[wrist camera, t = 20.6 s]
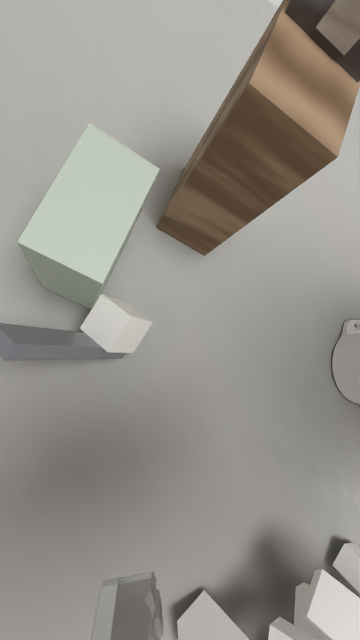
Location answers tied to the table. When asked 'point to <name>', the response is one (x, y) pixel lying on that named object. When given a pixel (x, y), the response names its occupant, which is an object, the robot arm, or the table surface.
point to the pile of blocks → (310, 609)
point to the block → (87, 217)
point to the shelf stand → (271, 123)
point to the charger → (79, 335)
